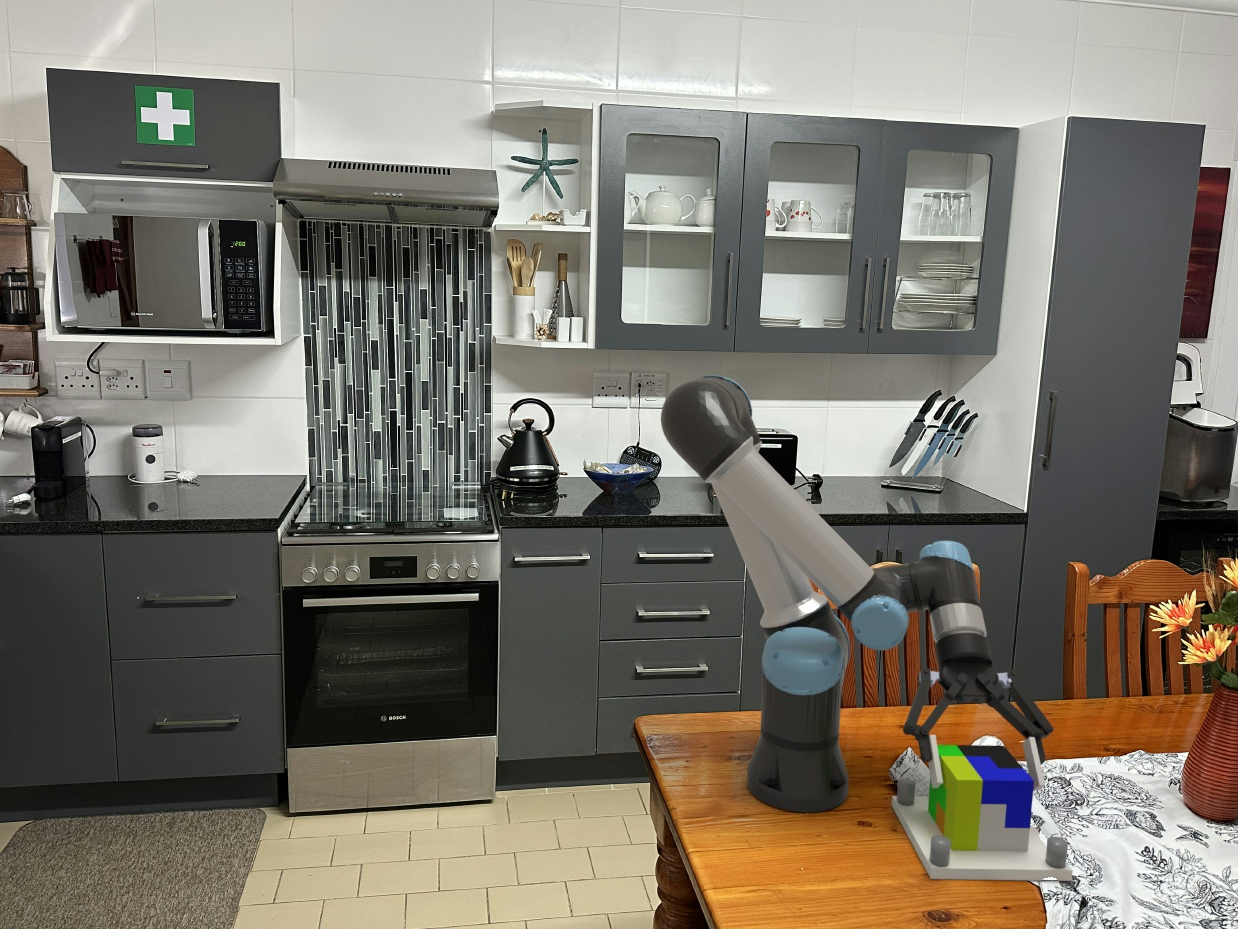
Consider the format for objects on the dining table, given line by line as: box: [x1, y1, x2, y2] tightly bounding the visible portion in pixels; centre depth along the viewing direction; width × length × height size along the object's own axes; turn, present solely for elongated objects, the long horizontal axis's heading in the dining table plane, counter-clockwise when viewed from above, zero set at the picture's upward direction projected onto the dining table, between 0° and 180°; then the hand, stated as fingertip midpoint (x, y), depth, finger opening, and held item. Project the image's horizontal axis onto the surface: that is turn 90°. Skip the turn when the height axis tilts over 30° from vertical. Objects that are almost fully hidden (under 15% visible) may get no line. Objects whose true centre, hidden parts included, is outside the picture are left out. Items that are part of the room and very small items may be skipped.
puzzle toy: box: [928, 744, 1034, 851], centre depth 129 cm, size 10×10×10 cm
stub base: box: [891, 777, 1073, 882], centre depth 130 cm, size 18×18×4 cm
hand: (988, 787), depth 128 cm, fingers open, 13 cm apart
